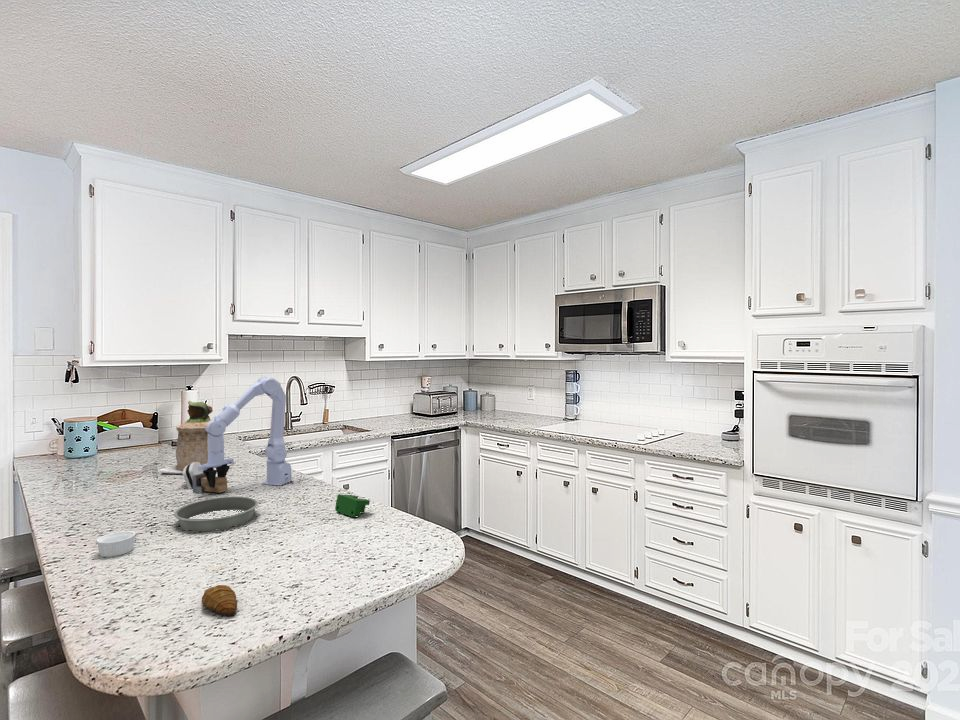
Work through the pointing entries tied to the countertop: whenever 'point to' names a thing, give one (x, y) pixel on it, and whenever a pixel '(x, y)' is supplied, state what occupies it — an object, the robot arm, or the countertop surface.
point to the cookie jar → (192, 438)
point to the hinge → (191, 473)
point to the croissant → (220, 600)
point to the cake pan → (216, 505)
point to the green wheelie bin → (350, 505)
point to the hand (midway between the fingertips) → (216, 485)
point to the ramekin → (116, 543)
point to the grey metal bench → (198, 483)
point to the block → (219, 484)
